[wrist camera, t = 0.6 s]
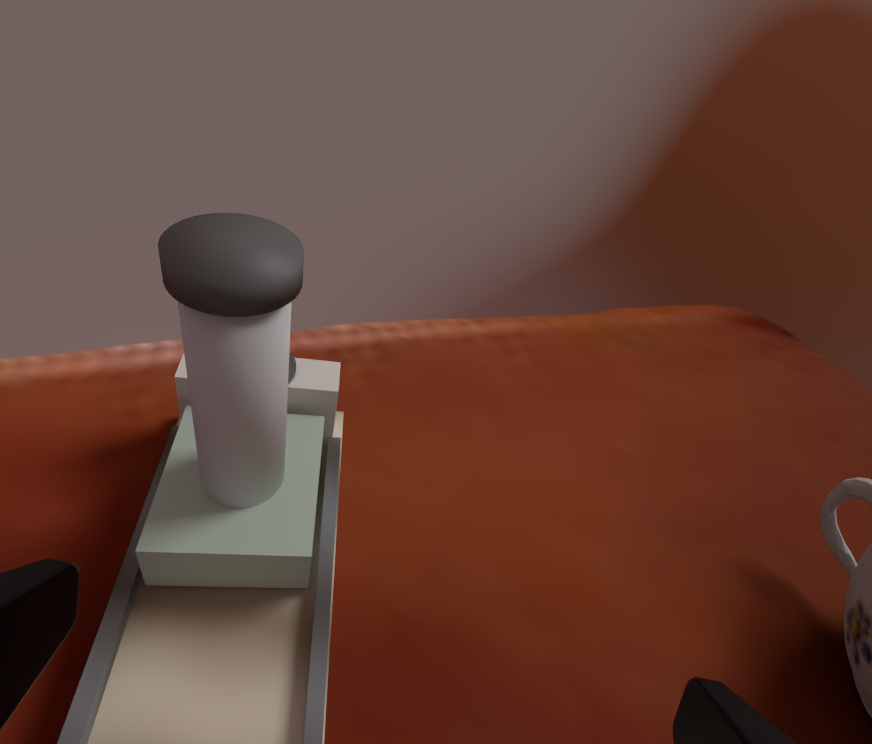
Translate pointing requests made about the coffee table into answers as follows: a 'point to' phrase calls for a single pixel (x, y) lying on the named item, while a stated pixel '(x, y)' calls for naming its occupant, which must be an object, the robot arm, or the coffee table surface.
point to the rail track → (213, 649)
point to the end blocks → (293, 390)
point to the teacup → (853, 585)
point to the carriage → (234, 415)
